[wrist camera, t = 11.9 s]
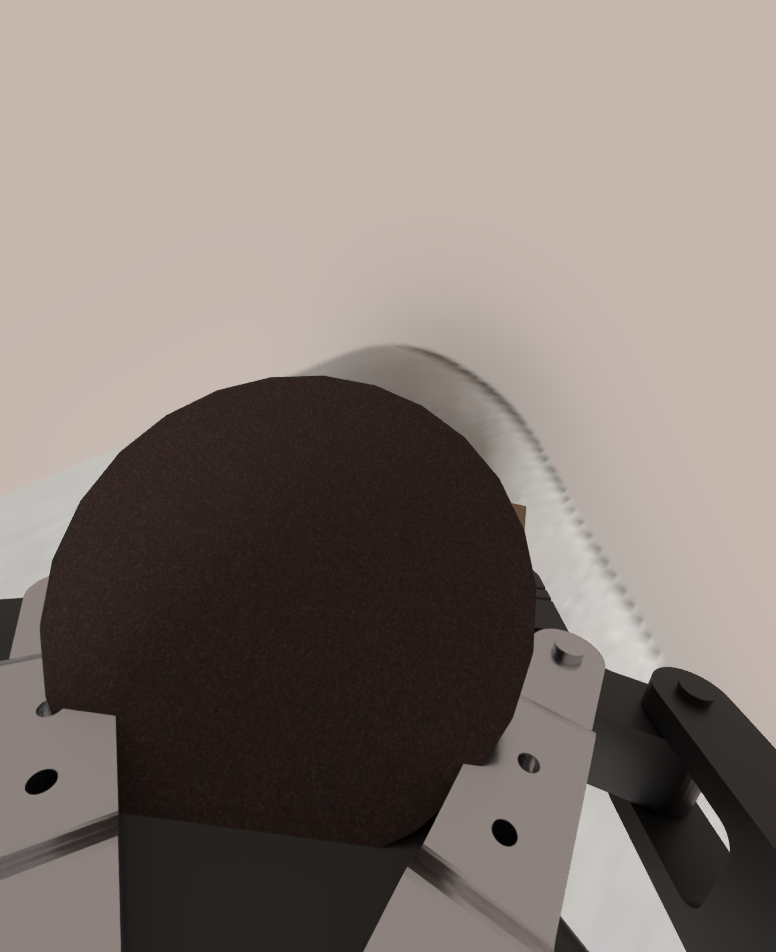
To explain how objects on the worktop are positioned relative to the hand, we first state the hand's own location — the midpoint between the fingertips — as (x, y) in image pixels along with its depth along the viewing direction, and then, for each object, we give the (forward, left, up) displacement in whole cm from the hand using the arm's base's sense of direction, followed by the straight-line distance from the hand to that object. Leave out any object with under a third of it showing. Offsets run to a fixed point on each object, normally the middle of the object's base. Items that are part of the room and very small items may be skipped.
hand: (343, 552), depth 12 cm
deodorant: (0, -2, -9) cm, 9 cm away
